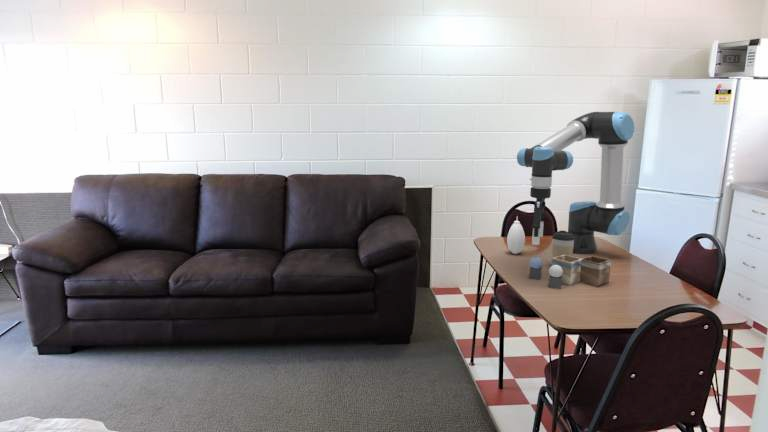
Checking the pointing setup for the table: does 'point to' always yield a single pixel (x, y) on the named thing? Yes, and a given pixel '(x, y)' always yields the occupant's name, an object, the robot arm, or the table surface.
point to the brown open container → (595, 271)
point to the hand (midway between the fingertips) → (537, 240)
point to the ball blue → (536, 263)
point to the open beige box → (568, 268)
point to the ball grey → (555, 271)
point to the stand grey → (554, 282)
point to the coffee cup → (562, 243)
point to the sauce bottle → (516, 237)
